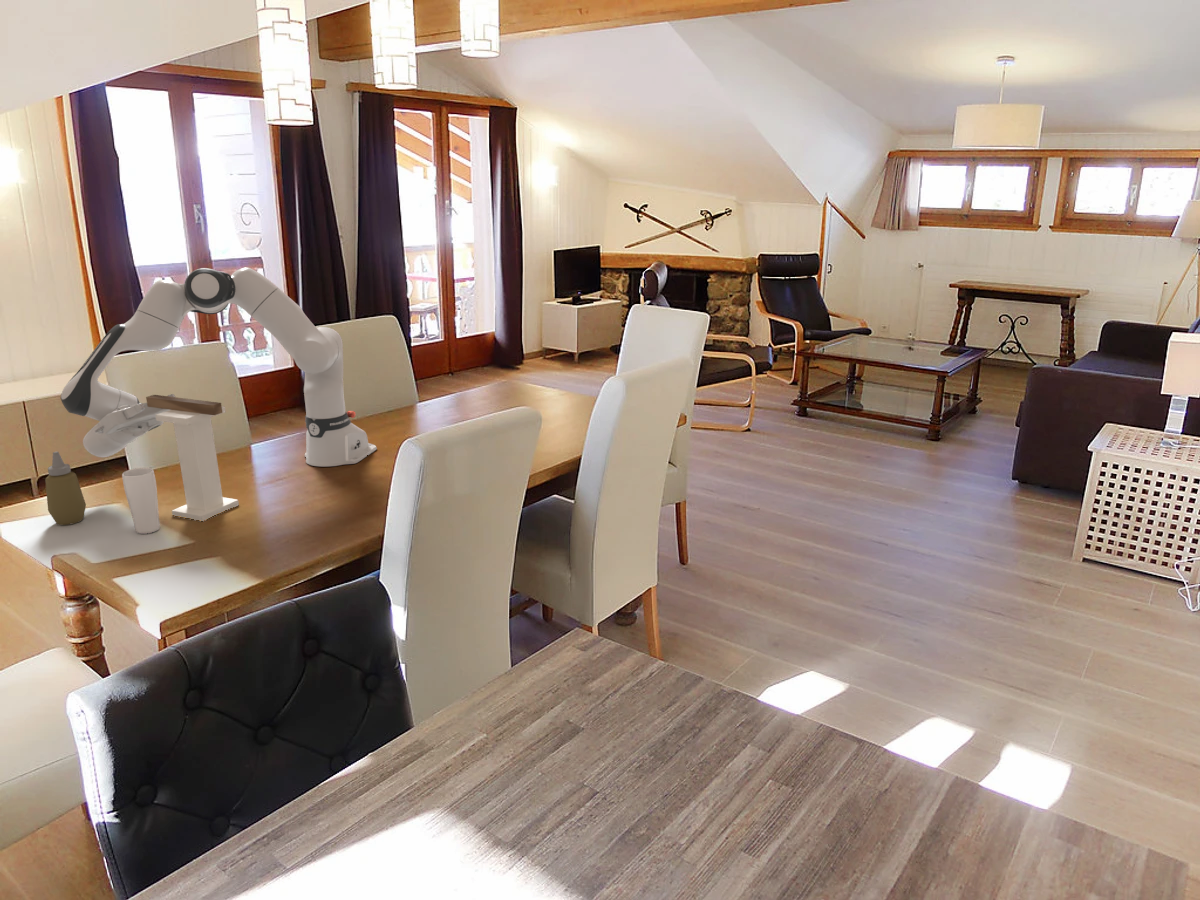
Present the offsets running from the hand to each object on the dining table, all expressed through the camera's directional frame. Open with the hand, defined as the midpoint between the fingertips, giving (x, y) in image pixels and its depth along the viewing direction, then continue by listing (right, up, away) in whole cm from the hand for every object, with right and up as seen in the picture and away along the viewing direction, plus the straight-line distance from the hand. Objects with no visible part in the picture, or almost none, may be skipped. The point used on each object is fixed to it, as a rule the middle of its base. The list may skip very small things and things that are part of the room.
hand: (157, 401), depth 215 cm
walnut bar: (+8, -2, -3) cm, 9 cm away
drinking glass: (+2, -32, -7) cm, 33 cm away
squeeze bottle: (-21, -30, -2) cm, 37 cm away
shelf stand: (+10, -28, +5) cm, 30 cm away
